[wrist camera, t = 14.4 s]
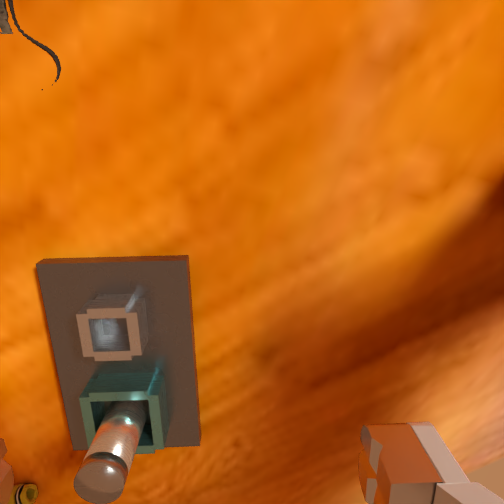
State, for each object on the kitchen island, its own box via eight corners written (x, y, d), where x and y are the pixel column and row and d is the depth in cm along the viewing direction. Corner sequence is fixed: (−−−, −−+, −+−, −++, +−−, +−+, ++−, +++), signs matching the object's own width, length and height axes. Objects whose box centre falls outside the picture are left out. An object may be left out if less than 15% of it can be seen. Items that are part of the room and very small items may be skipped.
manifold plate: (188, 255, 38) (181, 271, 34) (201, 435, 45) (197, 468, 41) (43, 258, 38) (18, 275, 33) (78, 440, 45) (61, 473, 40)
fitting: (148, 387, 41) (120, 465, 31) (152, 418, 42) (125, 503, 33) (110, 387, 41) (70, 467, 31) (114, 419, 42) (77, 504, 32)
